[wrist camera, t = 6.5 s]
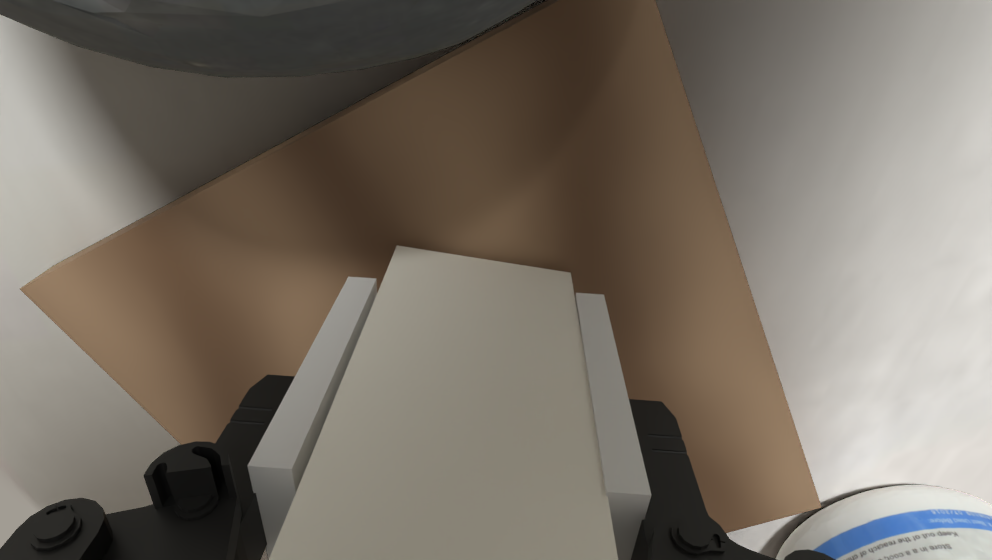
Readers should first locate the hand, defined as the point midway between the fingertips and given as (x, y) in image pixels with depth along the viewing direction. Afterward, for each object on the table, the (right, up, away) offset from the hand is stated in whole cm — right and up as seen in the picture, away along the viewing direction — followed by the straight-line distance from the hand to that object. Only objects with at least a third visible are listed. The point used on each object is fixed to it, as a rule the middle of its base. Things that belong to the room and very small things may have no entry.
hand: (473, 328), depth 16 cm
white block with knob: (-1, -5, +4) cm, 7 cm away
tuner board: (-1, -2, +5) cm, 5 cm away
